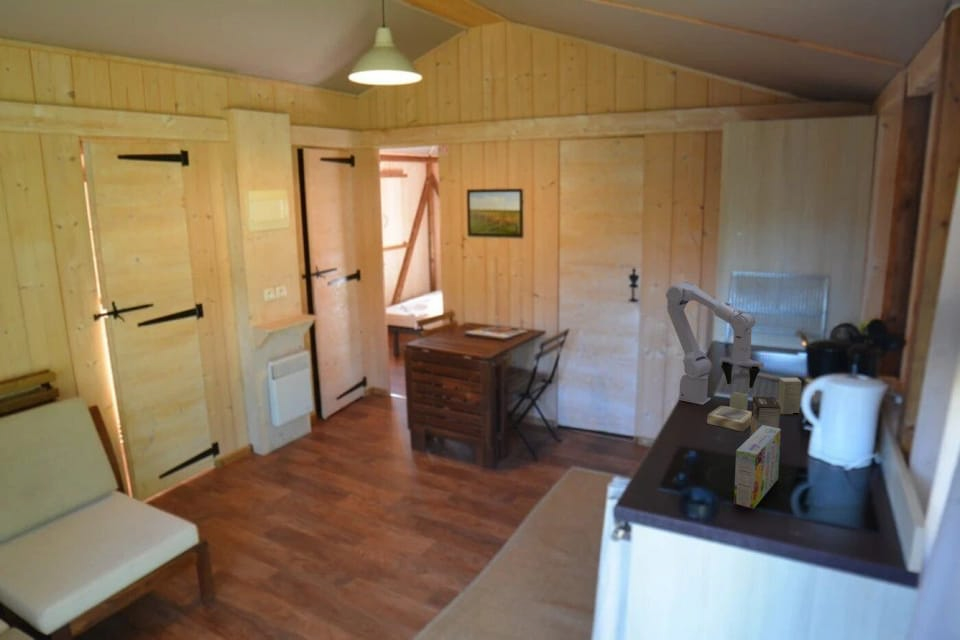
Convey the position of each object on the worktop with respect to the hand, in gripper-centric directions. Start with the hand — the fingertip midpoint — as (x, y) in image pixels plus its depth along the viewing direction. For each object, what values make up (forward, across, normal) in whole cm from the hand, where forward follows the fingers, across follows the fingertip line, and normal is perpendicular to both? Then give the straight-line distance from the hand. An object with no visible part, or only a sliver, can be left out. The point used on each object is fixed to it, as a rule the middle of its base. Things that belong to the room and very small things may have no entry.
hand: (740, 385), depth 231 cm
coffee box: (+10, +17, -30) cm, 36 cm away
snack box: (+10, +24, -57) cm, 63 cm away
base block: (+10, +2, -12) cm, 15 cm away
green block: (+10, 0, 0) cm, 10 cm away
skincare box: (+10, +14, +9) cm, 19 cm away
